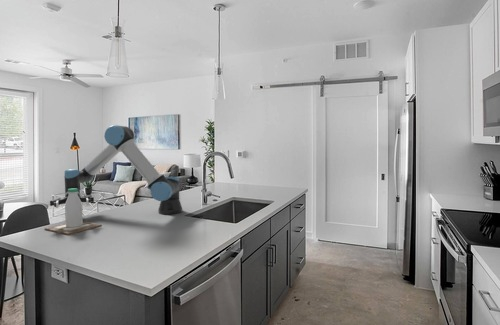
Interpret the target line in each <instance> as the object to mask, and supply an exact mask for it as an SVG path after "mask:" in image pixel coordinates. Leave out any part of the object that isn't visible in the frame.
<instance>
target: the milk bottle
mask: <svg viewBox="0 0 500 325" xmlns="http://www.w3.org/2000/svg"><path fill="white" fill-rule="evenodd" d="M68 194H69V195H68V198H67V201H66V203H65V204H64V210H65V211H64V212H65V213H64V214H65V215H64V216H65V223H66V227H68V228H72V227H79V226H81V225H82V224H83V221H84V220H83V205H82V203H83V202H81V200H80V198H79V196H78V189H77V188H71V189H68Z"/></svg>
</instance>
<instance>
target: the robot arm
mask: <svg viewBox="0 0 500 325" xmlns="http://www.w3.org/2000/svg"><path fill="white" fill-rule="evenodd" d="M103 137H104V140H105V142H106V143H107V144H108V145H107V146H106V147H104V149H103V150H102V151H101V152H100V153H98V154H97V155H96V156H95V157H94V158H93V159H92V160H91V161H90V162H89V163H87V165H86V166H84V167H83V168H82V169H80V171H79V169H77V168H71V169H69V168H68V169H65V170H64V176H63V177H64V195H65V196H64V198H62V197H57V198H55V199H52V200H50V201H49V206H50V207H54V208H56V209H58V208H59V206H61V205H63V204H64V205H65V203H66V201H67V198H68V195H69V194H68V189H71V188H77V189H78V196H79V198H80V200H81V203H86V206H89V203H94V202H95V197H94V196H88V195H83V197H82V196H81V192H80V184H82V183H88V182H90V181H92V180H93V179H94V178H95V177H94V176H95V175H96V174H97V173H98V172H99V171H101V169H103V168H104V166H106V165H107V164H108V163H109V162H111V160H113V159H114V157H116V156H117V155H118V154H119V153H122V154H123V155H124V156H125V157H126V158H127V160H128V161H129V162H130V163H131V165H132V166H133V167H134V168H135V170H137V172H138V173H139V174H140V175H141V177H142V178H143V179H144V180H145V181H146V183H147V188H148V189H149V191H150V196H151V197H152V199H154V200H156V201H158V202H160V203H159V207H158V211H157V212H158V213H159V214H161V215H175V214H179V213H180V214H181V213H182V212H183V206H182V204H181V200H180V178H179V177H178V176H165V175H164V174H163V173H159V171H158V170H157V169H156V168H155V167H154V165H153V164H152V163H151V162H150V161H149V159H148V158H147V157H146V156H145V155H144V153H143V152H142V151H141V150H140V148H138V146H137V145H136V144H135V133H134V131H133V129H132V128H131V127H128V126H123V125H118V124H114V125H110V126H108V127H107V128H106V129H105V131H104V136H103Z"/></svg>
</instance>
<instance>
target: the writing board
mask: <svg viewBox="0 0 500 325" xmlns="http://www.w3.org/2000/svg"><path fill="white" fill-rule="evenodd" d="M99 227H102V224H100V223H95V222H91V221H85V220H83V224H82V225H81V226H79V227H72V228H68V227H66V222H65V223H61V224H55V225H53V226H48V227H45V228H44V231H49V232H53V233H58V234H61V235H65V236H70V235H74V234H78V233H81V232H84V231H87V230H91V229H94V228H99Z"/></svg>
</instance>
